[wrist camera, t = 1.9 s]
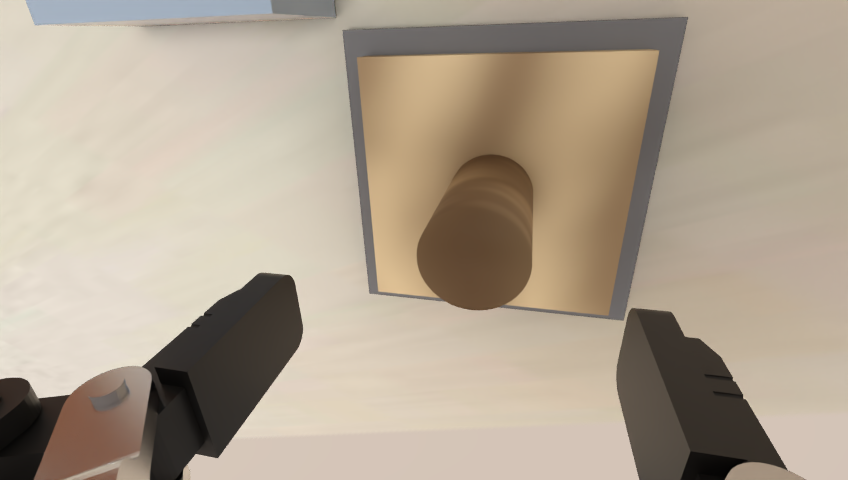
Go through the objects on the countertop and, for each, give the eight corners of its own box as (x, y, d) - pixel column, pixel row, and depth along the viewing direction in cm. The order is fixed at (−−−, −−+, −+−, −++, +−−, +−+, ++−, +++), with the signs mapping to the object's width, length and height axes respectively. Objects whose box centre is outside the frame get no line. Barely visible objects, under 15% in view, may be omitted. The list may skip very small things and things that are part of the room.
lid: (650, 49, 16) (729, 61, 9) (604, 301, 20) (635, 422, 14) (367, 55, 18) (276, 69, 12) (385, 279, 23) (328, 374, 16)
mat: (682, 17, 15) (688, 16, 15) (621, 313, 21) (623, 320, 21) (348, 30, 18) (342, 30, 18) (373, 287, 24) (369, 293, 23)
